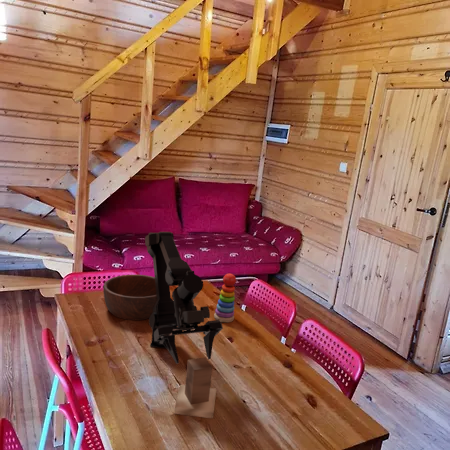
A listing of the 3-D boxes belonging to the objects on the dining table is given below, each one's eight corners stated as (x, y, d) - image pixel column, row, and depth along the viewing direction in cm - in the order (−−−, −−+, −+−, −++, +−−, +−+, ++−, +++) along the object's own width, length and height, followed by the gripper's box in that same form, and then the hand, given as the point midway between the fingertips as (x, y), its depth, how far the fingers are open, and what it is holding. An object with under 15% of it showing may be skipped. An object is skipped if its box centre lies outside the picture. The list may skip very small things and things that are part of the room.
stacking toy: (219, 324, 163) (224, 278, 159) (210, 315, 170) (215, 270, 166) (237, 322, 167) (243, 276, 163) (228, 313, 174) (233, 269, 169)
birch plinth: (174, 413, 110) (174, 406, 109) (179, 390, 120) (180, 384, 119) (212, 418, 110) (213, 411, 109) (215, 395, 119) (216, 388, 119)
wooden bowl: (136, 330, 151) (138, 303, 149) (88, 309, 164) (89, 284, 162) (179, 309, 172) (182, 285, 170) (134, 292, 185) (135, 269, 183)
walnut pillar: (184, 393, 115) (187, 359, 113) (201, 390, 117) (205, 357, 115) (190, 404, 111) (194, 369, 109) (208, 401, 113) (212, 367, 111)
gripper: (159, 298, 113) (168, 357, 106) (224, 294, 121) (236, 349, 114) (150, 312, 122) (157, 368, 115) (210, 308, 130) (221, 360, 122)
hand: (193, 361), depth 116 cm, fingers open, 9 cm apart
